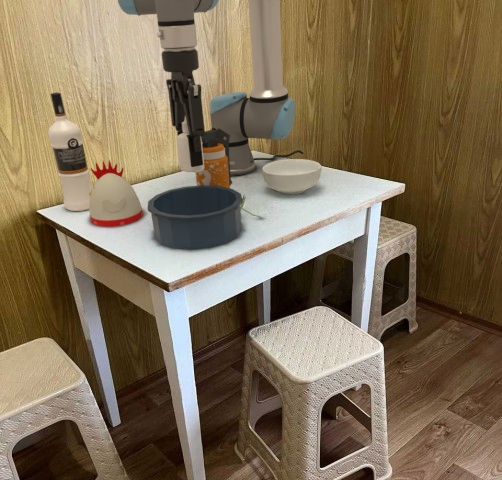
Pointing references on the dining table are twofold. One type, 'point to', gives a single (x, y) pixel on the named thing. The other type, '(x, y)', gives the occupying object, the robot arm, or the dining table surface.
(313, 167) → the cereal bowl
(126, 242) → the dining table surface
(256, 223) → the dining table surface
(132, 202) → the kitchen timer
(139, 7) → the robot arm
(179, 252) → the dining table surface
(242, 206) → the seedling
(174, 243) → the basin
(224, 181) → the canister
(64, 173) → the vodka
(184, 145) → the eye dropper bottle
